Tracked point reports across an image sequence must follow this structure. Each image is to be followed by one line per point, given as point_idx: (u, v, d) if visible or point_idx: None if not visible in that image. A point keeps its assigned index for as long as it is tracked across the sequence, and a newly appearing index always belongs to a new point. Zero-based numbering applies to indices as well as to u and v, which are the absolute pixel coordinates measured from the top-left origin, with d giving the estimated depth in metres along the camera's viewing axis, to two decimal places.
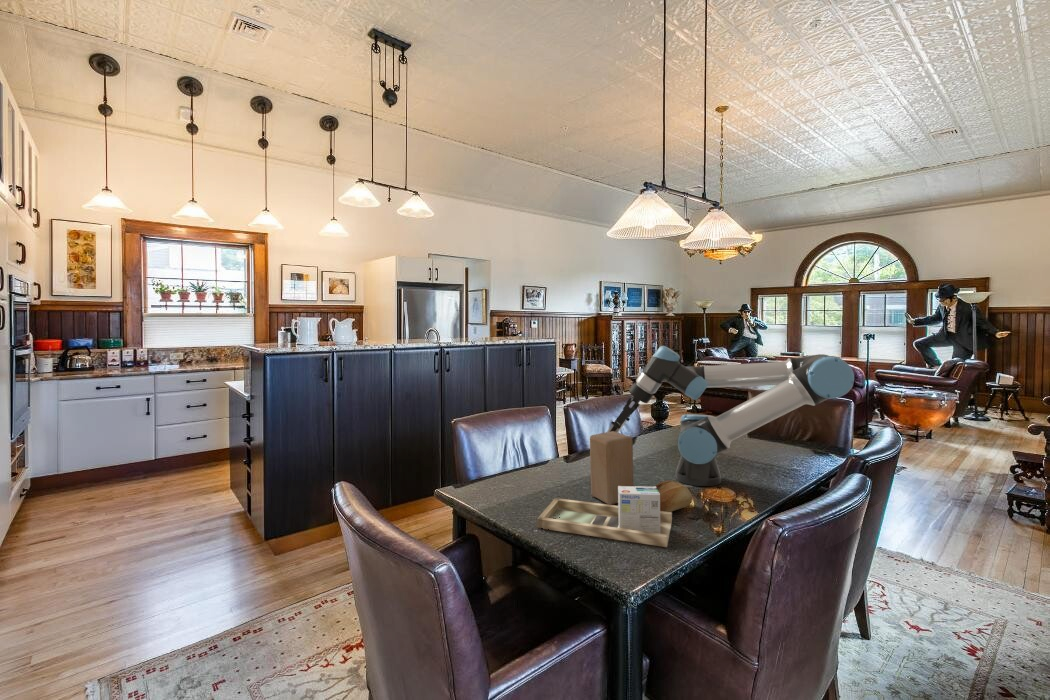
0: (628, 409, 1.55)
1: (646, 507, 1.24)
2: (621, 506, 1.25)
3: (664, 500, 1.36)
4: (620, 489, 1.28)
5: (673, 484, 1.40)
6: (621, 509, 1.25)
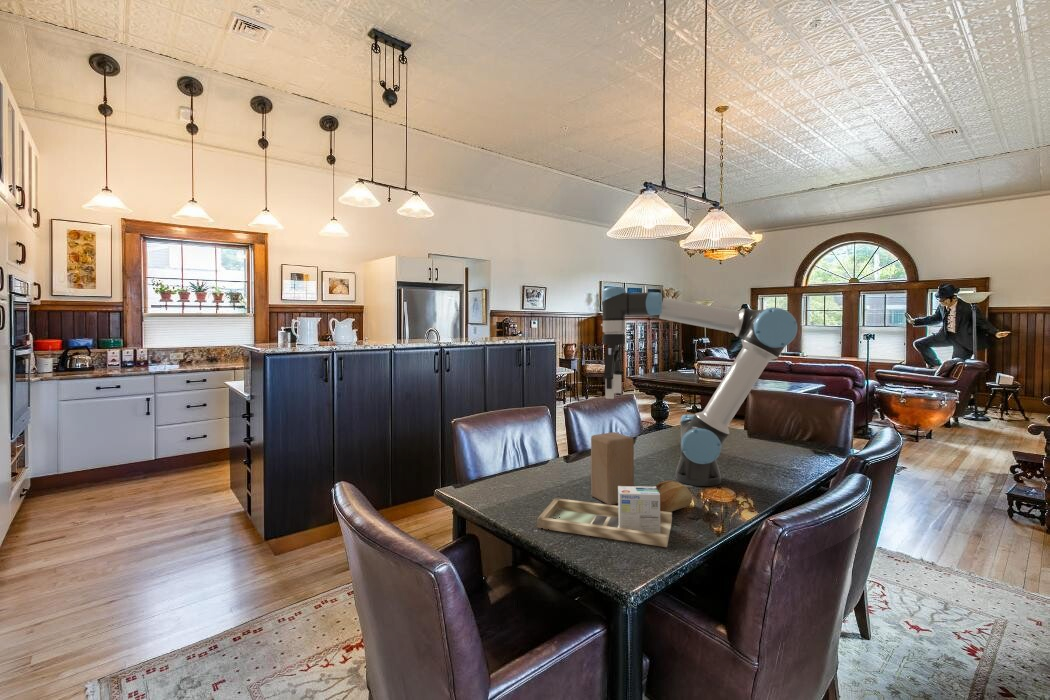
0: (609, 356, 1.55)
1: (646, 507, 1.24)
2: (621, 506, 1.25)
3: (664, 500, 1.36)
4: (620, 489, 1.28)
5: (673, 484, 1.40)
6: (621, 510, 1.25)
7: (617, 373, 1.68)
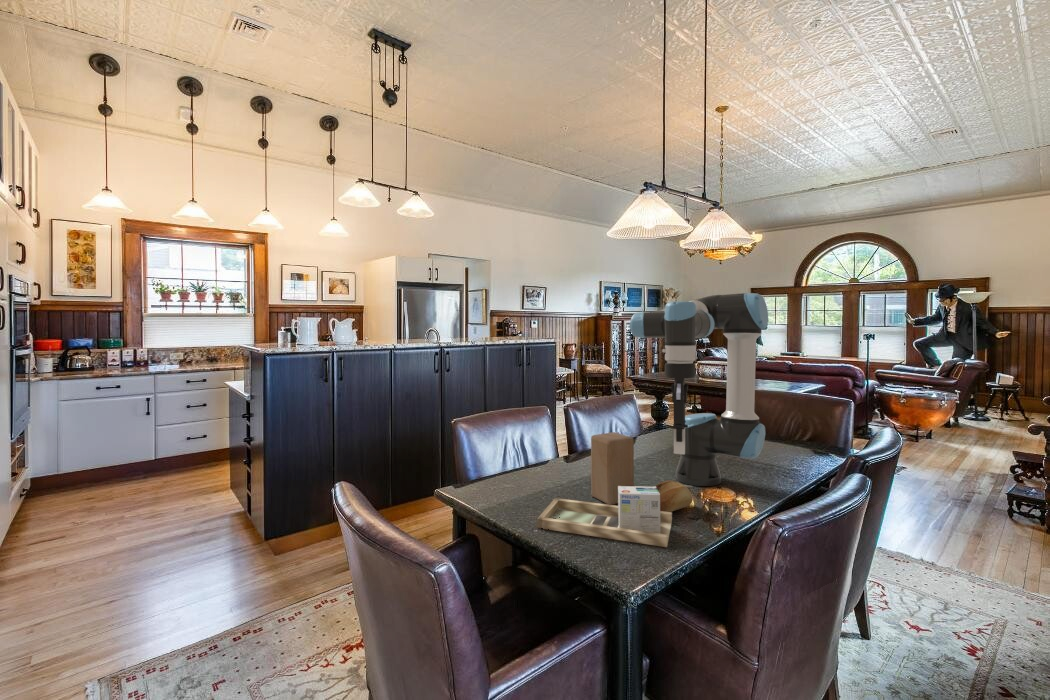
0: (678, 403, 1.17)
1: (646, 507, 1.24)
2: (621, 506, 1.25)
3: (664, 500, 1.36)
4: (620, 489, 1.28)
5: (673, 484, 1.40)
6: (621, 509, 1.25)
7: None
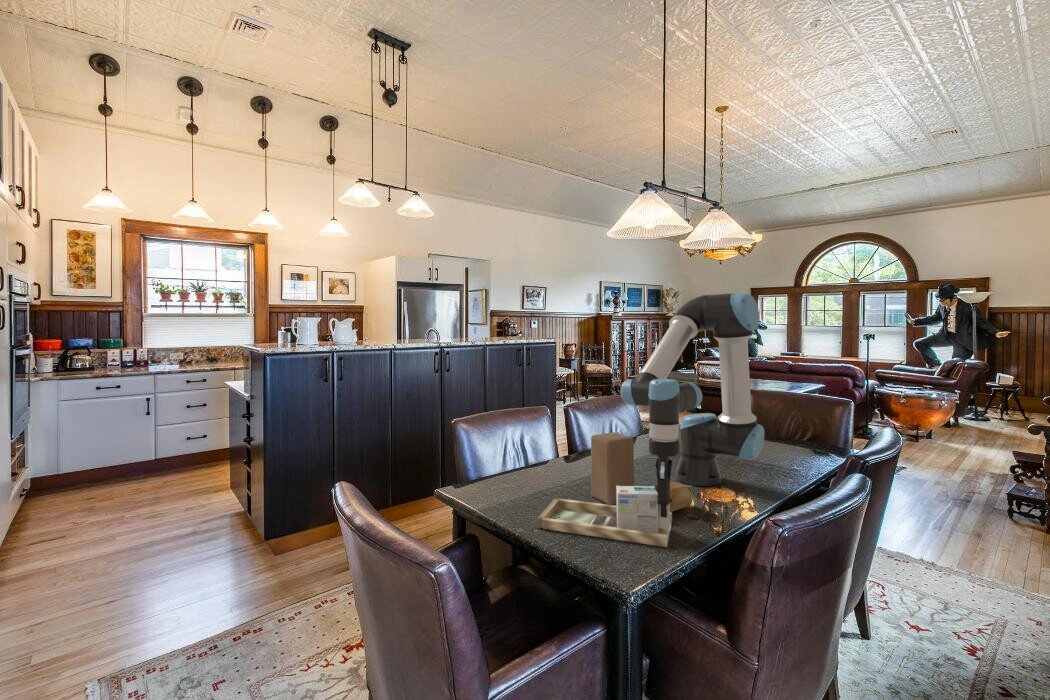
0: (662, 482, 1.20)
1: (644, 506, 1.24)
2: (619, 506, 1.25)
3: None
4: (618, 489, 1.28)
5: (673, 484, 1.40)
6: (619, 509, 1.25)
7: None
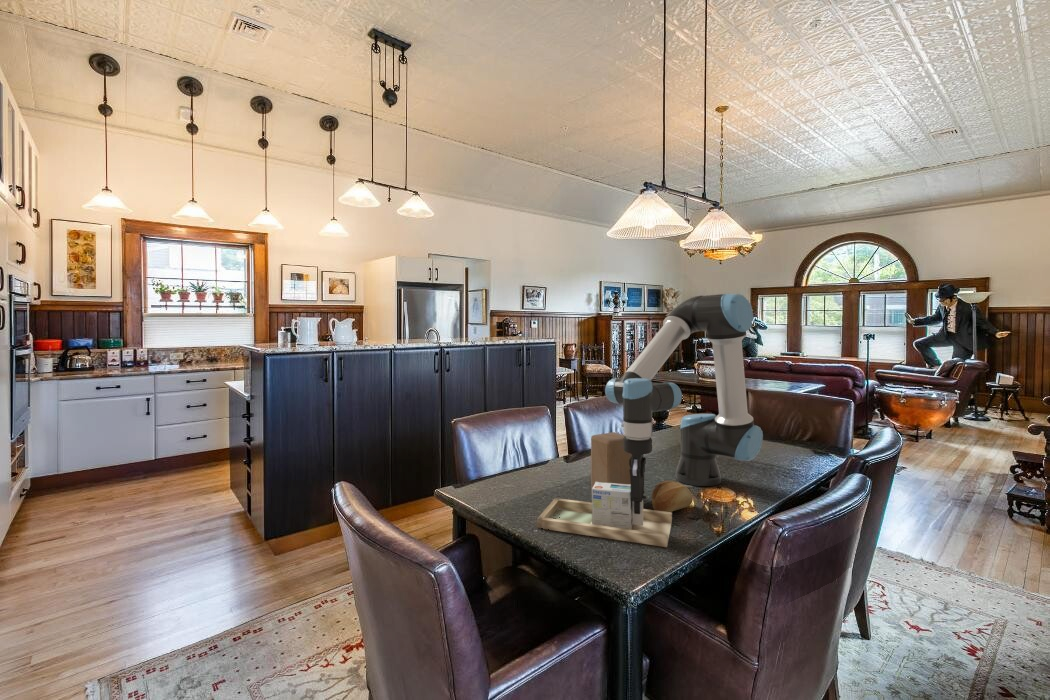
0: (635, 479, 1.22)
1: (616, 503, 1.27)
2: (593, 501, 1.29)
3: (664, 500, 1.36)
4: (595, 485, 1.31)
5: (673, 484, 1.40)
6: (592, 504, 1.29)
7: None
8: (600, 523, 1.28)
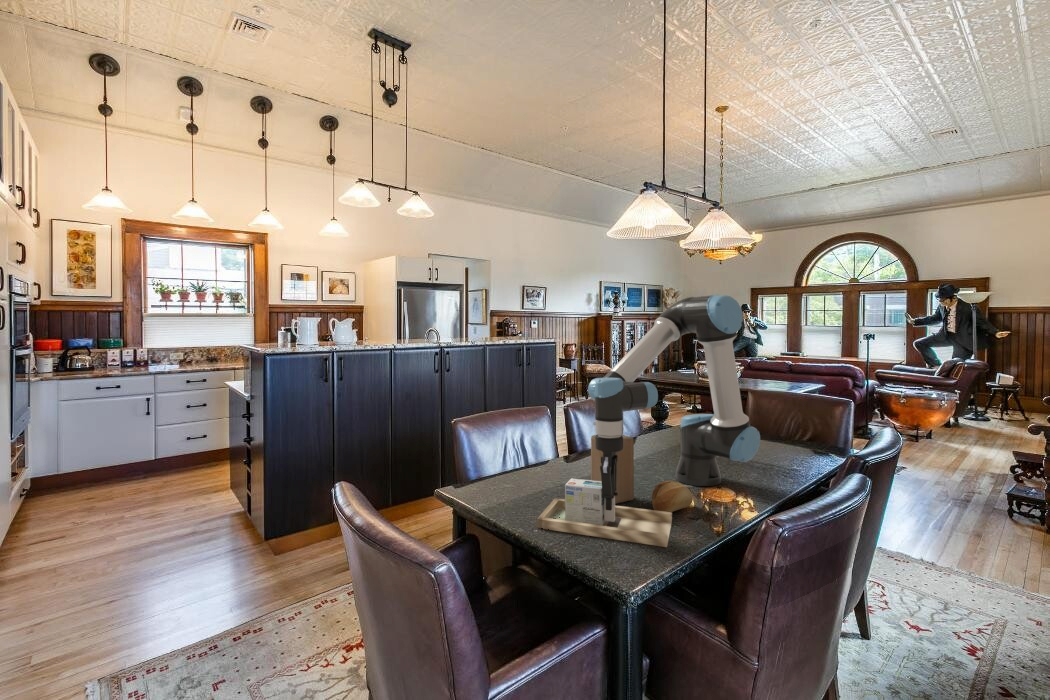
0: (606, 476, 1.25)
1: (588, 499, 1.30)
2: (566, 496, 1.32)
3: (664, 500, 1.36)
4: (569, 481, 1.35)
5: (673, 484, 1.40)
6: (566, 500, 1.32)
7: None
8: (573, 518, 1.32)
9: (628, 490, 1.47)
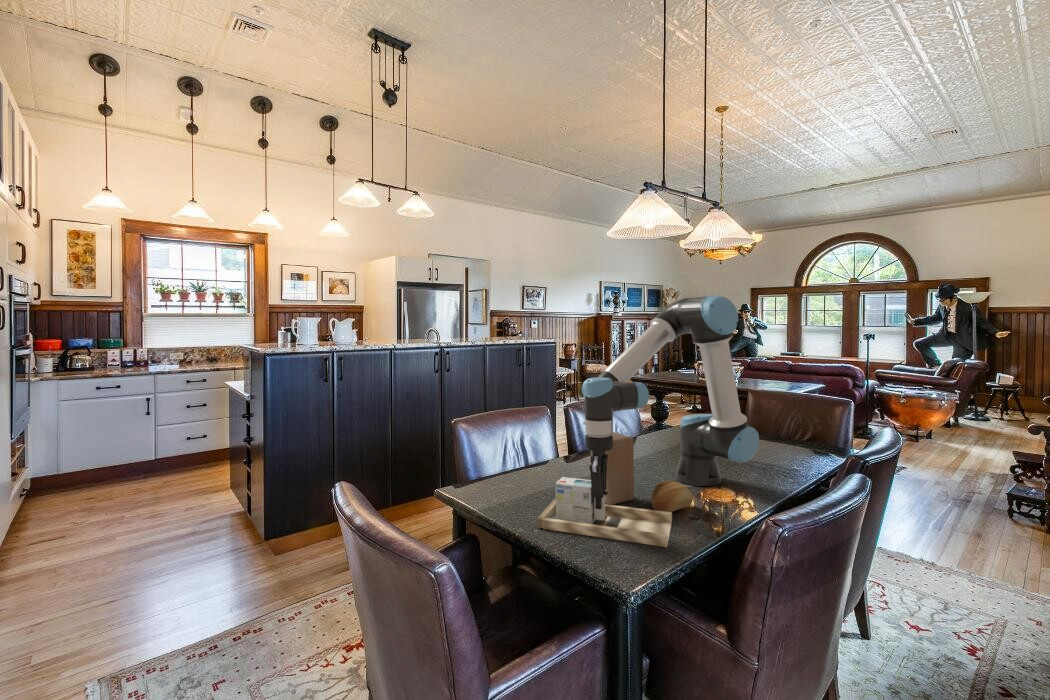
0: (595, 475, 1.26)
1: (578, 498, 1.31)
2: (556, 495, 1.34)
3: (664, 500, 1.36)
4: (560, 479, 1.36)
5: (673, 484, 1.40)
6: (556, 498, 1.34)
7: None
8: (563, 516, 1.33)
9: (628, 490, 1.47)
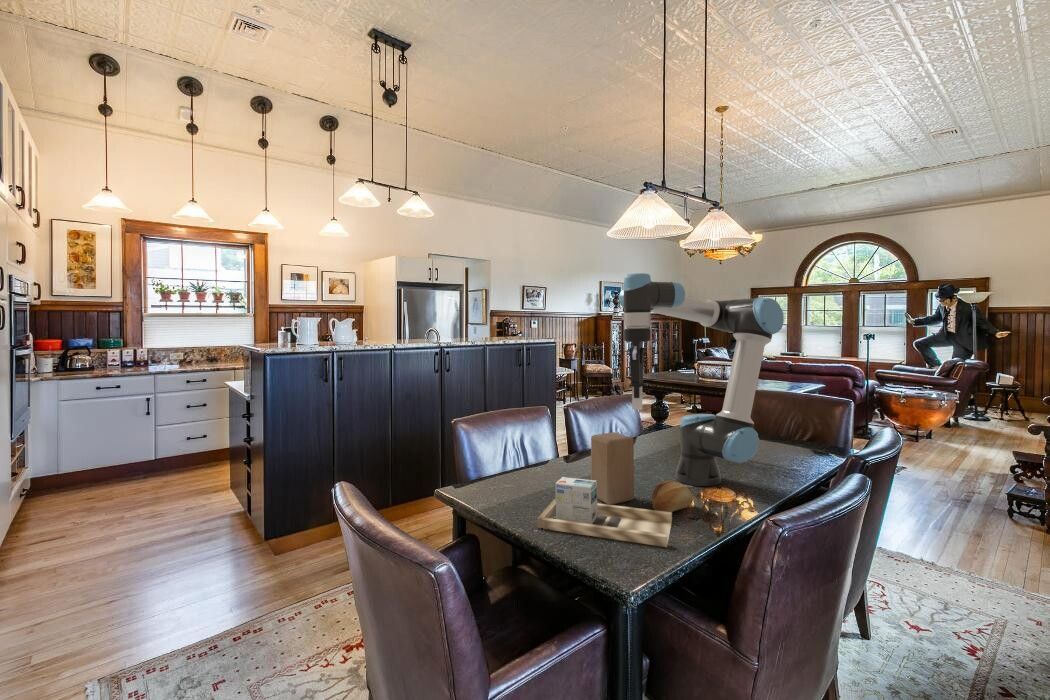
0: (635, 363, 1.33)
1: (578, 498, 1.31)
2: (556, 495, 1.34)
3: (665, 500, 1.36)
4: (560, 479, 1.36)
5: (674, 484, 1.40)
6: (556, 498, 1.34)
7: None
8: (563, 516, 1.33)
9: (628, 490, 1.47)
